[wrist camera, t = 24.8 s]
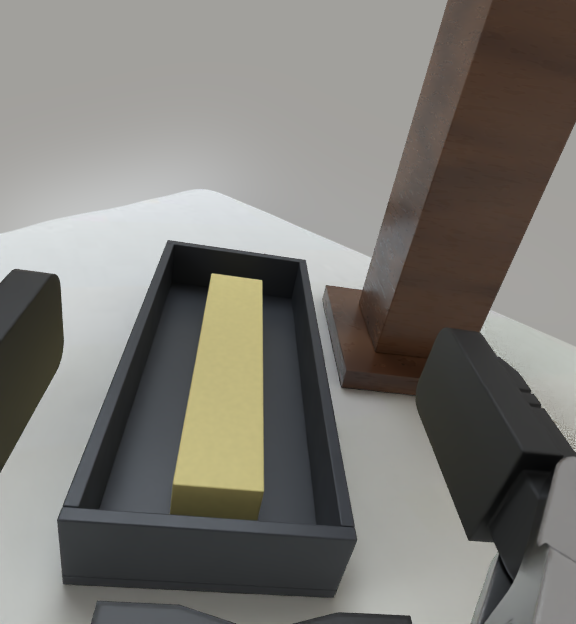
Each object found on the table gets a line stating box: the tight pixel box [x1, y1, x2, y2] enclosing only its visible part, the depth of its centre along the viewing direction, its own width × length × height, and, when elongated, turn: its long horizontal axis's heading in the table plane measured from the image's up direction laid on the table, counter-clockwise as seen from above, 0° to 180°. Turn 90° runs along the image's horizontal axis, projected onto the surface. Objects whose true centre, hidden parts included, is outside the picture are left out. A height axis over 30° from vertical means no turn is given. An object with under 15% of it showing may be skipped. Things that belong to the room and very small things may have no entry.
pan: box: [57, 240, 357, 598], centre depth 30 cm, size 25×11×4 cm, turn 3°
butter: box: [170, 273, 264, 520], centre depth 29 cm, size 19×4×3 cm, turn 3°
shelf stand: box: [322, 0, 576, 395], centre depth 31 cm, size 14×12×33 cm
